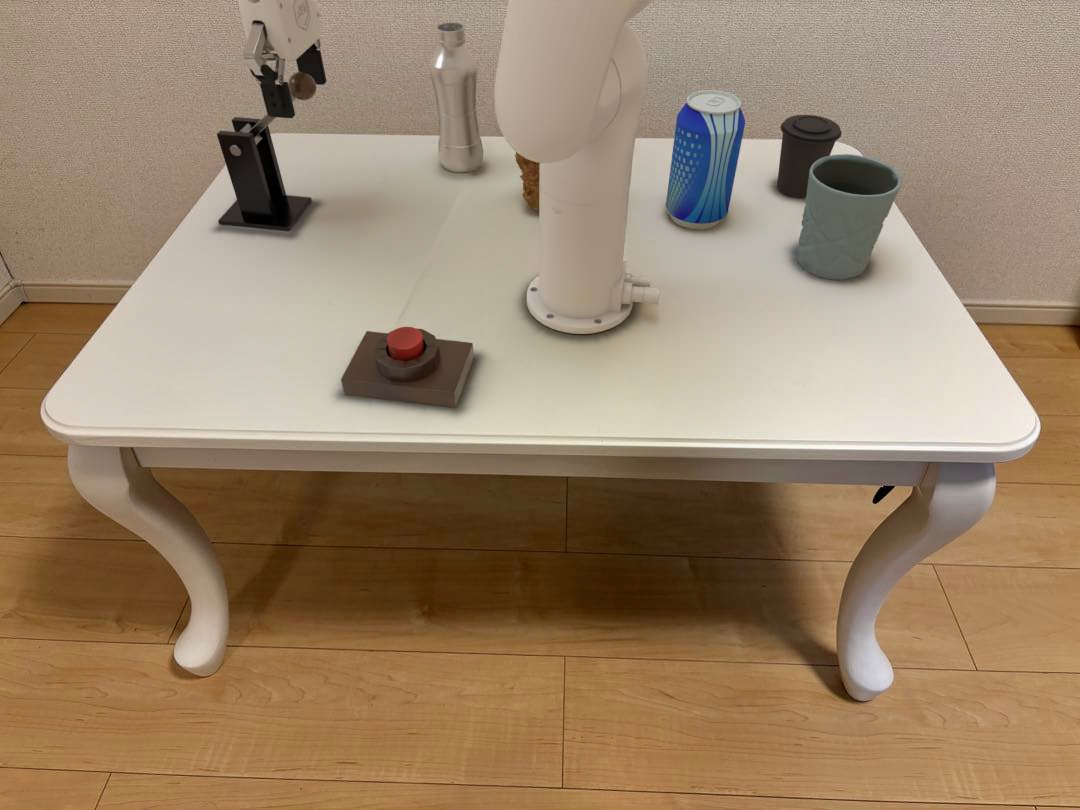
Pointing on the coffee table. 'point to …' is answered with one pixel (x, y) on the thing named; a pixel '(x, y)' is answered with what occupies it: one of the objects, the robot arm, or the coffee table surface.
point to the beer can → (704, 158)
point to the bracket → (257, 182)
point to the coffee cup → (803, 150)
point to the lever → (300, 89)
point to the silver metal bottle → (456, 100)
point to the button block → (409, 371)
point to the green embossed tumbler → (844, 214)
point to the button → (405, 343)
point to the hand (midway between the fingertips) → (298, 99)
